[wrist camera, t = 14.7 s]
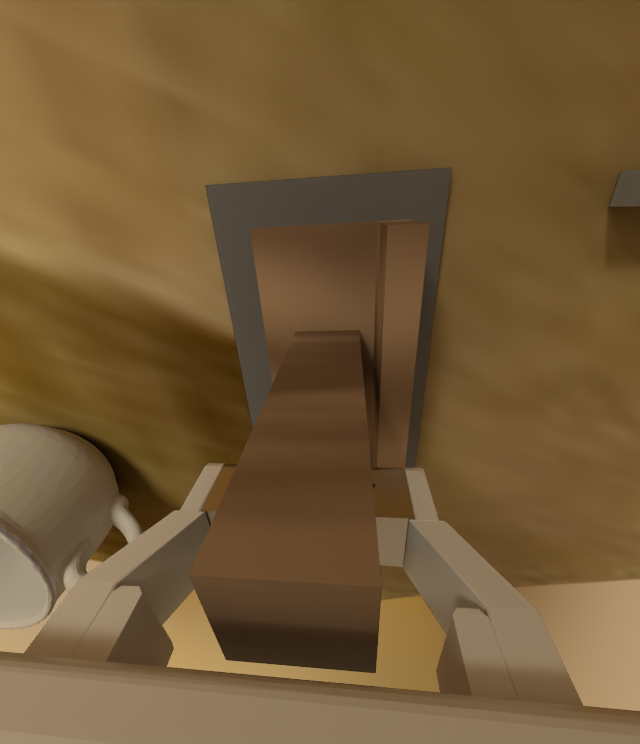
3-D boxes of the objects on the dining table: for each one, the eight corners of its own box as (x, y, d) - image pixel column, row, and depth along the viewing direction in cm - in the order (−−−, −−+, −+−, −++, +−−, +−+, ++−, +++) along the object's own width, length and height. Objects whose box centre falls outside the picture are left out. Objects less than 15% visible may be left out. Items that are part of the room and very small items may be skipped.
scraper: (256, 227, 13) (-86, 290, 3) (404, 219, 13) (669, 260, 2) (285, 440, 19) (205, 727, 8) (389, 441, 18) (445, 754, 8)
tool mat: (209, 186, 13) (205, 185, 13) (448, 168, 12) (451, 167, 12) (261, 462, 21) (260, 466, 20) (413, 465, 20) (414, 469, 19)
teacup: (-1, 481, 24) (-146, 594, 17) (-16, 372, 19) (-229, 467, 12) (171, 538, 26) (103, 662, 19) (198, 452, 21) (121, 576, 14)
